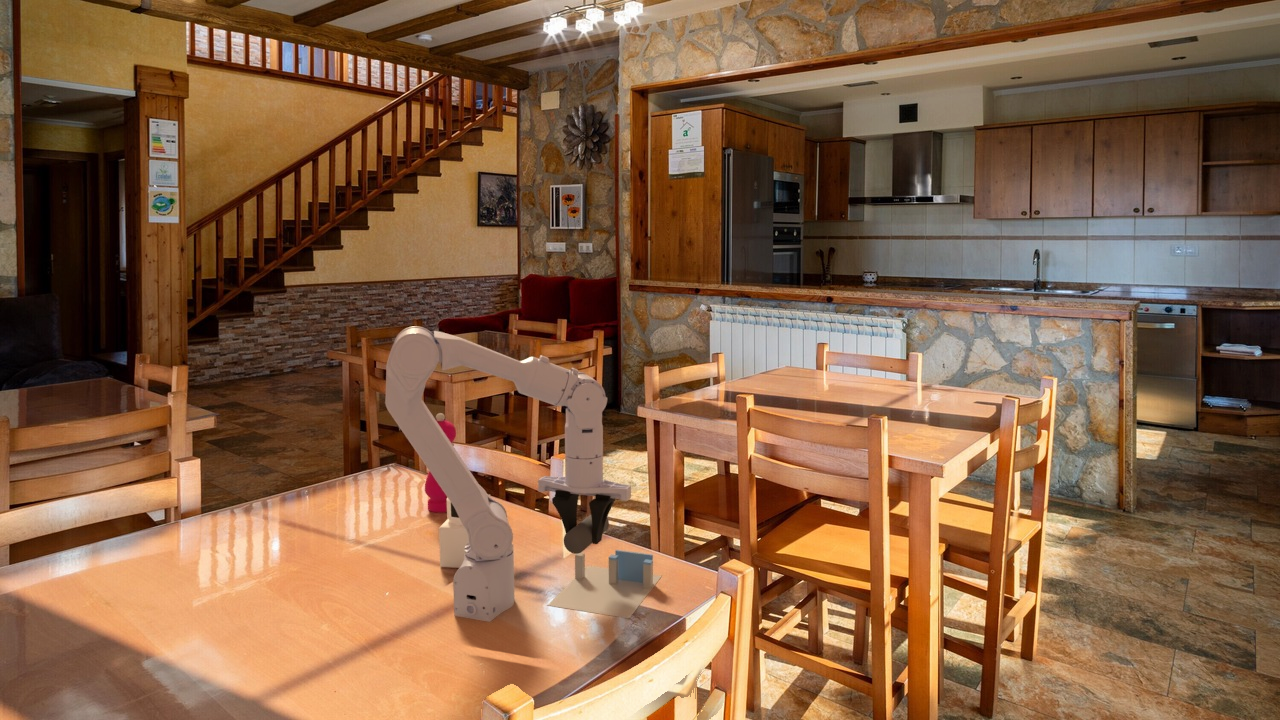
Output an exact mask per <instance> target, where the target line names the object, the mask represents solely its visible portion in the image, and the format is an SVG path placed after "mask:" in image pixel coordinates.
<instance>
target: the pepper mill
mask: <svg viewBox="0 0 1280 720" xmlns="http://www.w3.org/2000/svg"><path fill="white" fill-rule="evenodd" d="M445 419H446V416H445V414H444V413H441V412H439V413H437V414H436V416H435V420H436V421H437V423H438V424H439V426H440V427H441V429H442V430H443V432H444V433H445V435H446V436H447V438H448V439H449V441H450V442H451V444H452V445H453V447H454V446H455V444H454V443H453V441H454V440H455V439H456V437H457V430H456V427H455V425H454V424H453V423H452V422H451V421H448V420H445ZM424 492H425V494H426V495H427V497H428V498H429V499H428V500H427V511H429V512H432V513H436V514H437V513H439V514H441V513H442V514H443V513H447V496H446V494H445V493H444V491H443V490H442V488H441V487H440V486H439V484H438V483H437V481H436V480H435V478H434V477H433V475H432V474H431V472H430V471H429V470H428V473H427V477H426V479H425V482H424Z"/></svg>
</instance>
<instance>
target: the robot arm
mask: <svg viewBox="0 0 1280 720" xmlns="http://www.w3.org/2000/svg"><path fill="white" fill-rule="evenodd" d="M438 364H440V367H441V371H446V370H450V369H453V368H458V367H462V366H463V367H466V368H470V369H472V370H476V371H478V372H482V373H485V374H488V375H491V376H495V377H498V378H500V379H504V380H508V381H510V382H513V383H514V385H515V388H516V391H517V392H518V393H519V394H521V395H524V396H527V397H530V398H533V399H535V400H537V401H541V402H545V403H547V404H550V405H551V406H552V405H553V406H556V407H566V408H565V423H564V424H565V425H564V451H565V452H564V472H565V473H564V474H565V475H564V476H546V475H545V476H542V477H540V478H538V480H537V483H538V484H537V486H538V492H539V493H540V492H542V493H546V492H552V493H553V492H554V493H555V494H554V496H553V497H552V499H551V501H552V503H551V504H553V506H554V508H555V509H556V511H557V513H558V515H559V517H560V520H561V522H562V525H563V528H564V531H565V534H566V533H567V532H569V531H570V530H571V529H572V528H574V527H575V526H576V525H578V519H577V517H578V516H577V514H578V504H579V498H580V497H579V496H589V497H594V498H593V499H592V500H590V501H589V502H588V506H589V510H590V511H589V512H590V515H591V517H592V545H598V544H599V543H600V542H601V541H602V540H603V539H602V538H603V534H604V533H603V529H604V525H605V522H606V519H607V518H608V516H609V513H610V511H611V509H612V507H613V505H614V503H615V501H616V500H620V501H621V502H627V501H629V500H630V499H631V498H632V485H631V484H630V485H628V484H622V483H619V482H616V481H615V482H614V481H611V480H606V479H604V467H603V465H604V439H603V438H604V425H603V411H604V410H605V409H606V406H607V405H608V404H607V403H608V397H607V396H606V391H605V388H604V387H603V386H602V385H601V383H600V382H599V381H597V380H595V378H593V377H592V376H590V375H588V374H586V372H583V371H579V370H578V369H577V368H574V367H571V369H568V368H566V367H562V366H560V365H557V364H556V363H555V364H554V363H552V362H550V358H549V357H547V356H544V355H539V358H538V357H535V356H529V357H527V358H525V359H523V360H522V359H521V360H518V359H515V358H513V357H510V356H508V355H506V354H503V353H501V352H497V351H495V350H493V349H490V348H488V347H485V346H482V345H480V344H477V343H475V342H474V341H470V340H468V339H465V338H462V337H461V336H456V335H453V334H449V333H445V332H443V331H439V330H433V333H432V331H430V330H429V329H427V328H425V327H423V326H415V325H414V326H409V327H406V328H404V329H402V330H401V331H400V332H399V333H398V334H397V335H396V337H395V339H394V341H393V343H392V347H391V349H390V351H389V354H388V359H387V362H386V364H385V366H386V370H385V371H386V373H385V375H386V376H385V400H384V401H385V402H384V405H385V407H386V409H387V411H388V413H389V414H390V416H391V417H392V419H393V420H394V421H395V423H396V425H397V426H398V428H399V429H400V430H401V431H402V433H403V434H404V436H405V438H406V439H407V441H408V442H409V443H410V444H411V446H412V448H413V450H415V451H414V452H416V453H417V455H418V456H419V458H420V459H421V461H422V462H423V463H424V465H425V466H426V468H427V470H428V472H429V471H430V472H431V474H432V475H433V477H434V478H435V480H436V481H437V483H438V484H439V486H440V487H441V488H442V490H443V491H444V493H445V494H446V496H447V497H448V499H449V500H450V502H451V503H452V504H453V506H454V508H455V510H456V512H457V514H458V516H459V518H460V520H461V522H462V524H463V526H464V527H465V529H466V530H467V533H468V538H469V542H468V544H467V546H465V555H464V561H463V564H462V565H461V567H460V568H457V570H456V572H455V574H454V576H453V579H452V580H453V581H452V584H453V585H452V586H453V610H454V612H453V613H454V614H453V616H454V617H460V618H465V619H471V620H476V621H477V620H478V621H482V622H492V621H493V620H494V619H496V617H497V616H499V615H500V614H501V613H503V612H505V611H507V610H509V609H510V608H512V607H513V606H514V604H515V603H516V602H515V567H514V566H515V563H514V562H515V561H514V559H515V558H514V557H515V555H514V554H515V553H514V544H513V540H514V535H513V534H514V533H513V530H512V527H511V526H510V524H509V520H508V513H507V510H506V508H505V507H504V506H503V504H502V503H500V502H499V501H497V500H496V499H493V498H492V497H491V496H490V495H489V494H488V493H487V491H486V490H485V489H484V488H483V486H481V484H479V482H478V481H477V479H476V478H475V476H474V475H473V472H471V471H470V469H469V467H468V466H467V464H466V463H465V461H464V460H463V459H462V457H461V456H460V454H459V452H458V451H457V449H456V448H455V447H454V446H453V445H452V444H451V442H450V441H449V439H448V438H447V436H446V435H445V433H444V432H443V430H442V429H441V427H440V426H439V424H438V423H437V420H436V417H434V415H433V413H432V412H431V411H430V410H429V408H428V406H427V405H426V403H425V401H424V400H423V395H424V392H425V388H426V383H427V381H428V380H429V378H430V377H431V376H432V374H433V373H434V371H435V370H436V368H437V366H438Z"/></svg>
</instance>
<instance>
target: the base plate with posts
mask: <svg viewBox="0 0 1280 720" xmlns="http://www.w3.org/2000/svg"><path fill="white" fill-rule="evenodd" d="M614 553H615V554H610V556H609V555H608V567H601V566H595V565H594V566H593V565H587V566H586V553H584V552H581V553H578V554H575V555H574V573H575V574H574V575H575V576H574V578H573V580H571V582H570V583H569V584H568V585H566V586H565V588H563V589H562V590H561V591H560V592H559V593H558V594H557V595H556V596H555V597H554V598H553V599H552V600H551V601H550V602H549V603H548V604H547V605H546V606H548V607H554V608H555V607H556V608H561V609H566V610H572V611H579V612H586V613H592V614H598V615H604V616H605V615H606V616H611V617H616V618H622V619H630V618H631V616H633V615H634V613H635V612H636V611H637V609H638V608H639V606H640V605H641V604H642V603H643V601H644V600H645V599H646V597H647V596H648V595H649V594H650V592H651V591H652V590H653V588H654V587H655V586H656V585H657V583H658V582H659V581H660V579H661V578H663V577H662V576H663V575H658V574H654V554H652V553H643V552H635V551H627V550H621V549H616V550H615V552H614Z"/></svg>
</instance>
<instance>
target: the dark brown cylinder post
mask: <svg viewBox="0 0 1280 720" xmlns="http://www.w3.org/2000/svg"><path fill="white" fill-rule="evenodd" d="M609 527H610V521H609V519H608V517H607V519H606V522H605V525H604V529H603V534H605V533H606V532H607V531H608V529H609ZM563 545H564V547H565V549H566V550H567V551H568V552H570V553H572V554H573V555H574V554H575V555H576V554H578V553H583V551H585V550H586V549H587V548H589V546H591V545H593V543H592V517H591V514H589V515H588V516H586V518H584V519H583V520H582V521H581V522H579V523H577V525H576V526H575V527H574V528H572V529H571V530H570V531H569V532H567V533H566V532H565V534H564V536H563Z"/></svg>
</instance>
